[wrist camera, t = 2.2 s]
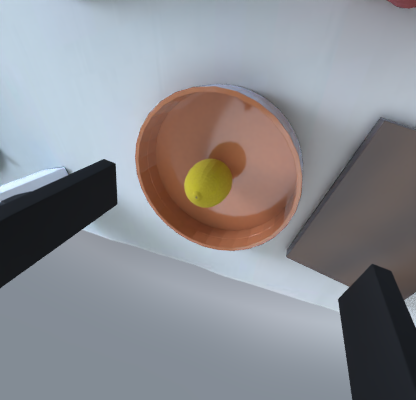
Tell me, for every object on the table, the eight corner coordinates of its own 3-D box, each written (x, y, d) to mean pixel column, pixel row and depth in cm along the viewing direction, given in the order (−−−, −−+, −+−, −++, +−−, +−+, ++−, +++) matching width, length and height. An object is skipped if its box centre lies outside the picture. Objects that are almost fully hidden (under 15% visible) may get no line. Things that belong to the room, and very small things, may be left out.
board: (286, 250, 33) (286, 257, 32) (380, 117, 22) (384, 120, 20) (390, 298, 31) (393, 307, 29) (556, 177, 19) (573, 184, 18)
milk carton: (43, 169, 45) (-92, 221, 30) (65, 166, 42) (-73, 222, 27) (60, 200, 48) (-54, 261, 33) (82, 199, 45) (-33, 266, 30)
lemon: (236, 192, 31) (218, 224, 25) (200, 184, 33) (174, 212, 26) (241, 154, 28) (222, 179, 22) (201, 147, 30) (172, 169, 23)
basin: (147, 198, 38) (131, 212, 35) (164, 59, 26) (142, 57, 23) (261, 252, 35) (256, 273, 31) (340, 121, 23) (347, 130, 19)
